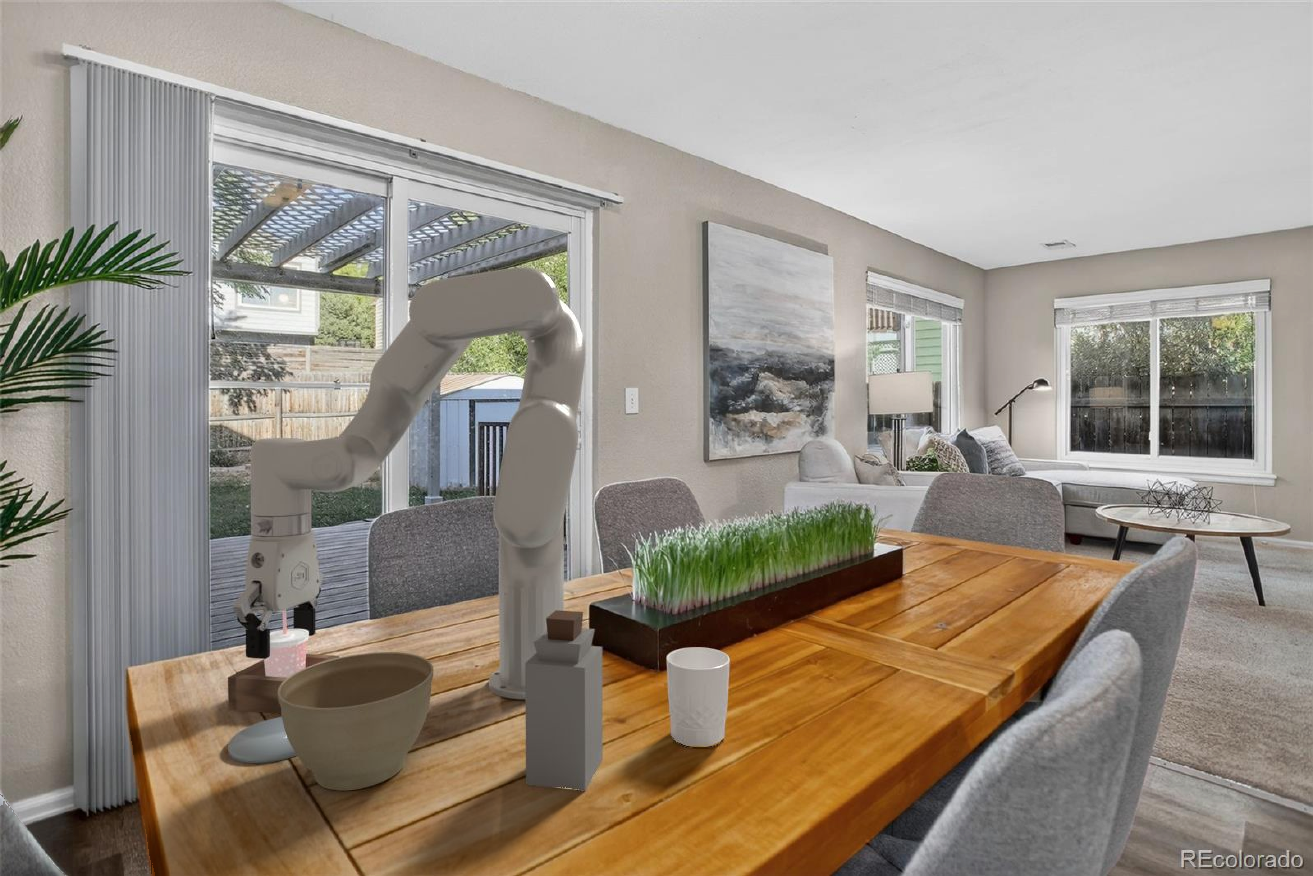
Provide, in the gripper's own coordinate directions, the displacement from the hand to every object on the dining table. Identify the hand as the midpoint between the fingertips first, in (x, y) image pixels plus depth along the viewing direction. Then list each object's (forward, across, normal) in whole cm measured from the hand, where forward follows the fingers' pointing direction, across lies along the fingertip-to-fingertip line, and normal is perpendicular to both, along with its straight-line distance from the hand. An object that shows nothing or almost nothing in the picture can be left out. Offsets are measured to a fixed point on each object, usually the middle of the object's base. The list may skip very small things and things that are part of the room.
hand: (282, 645), depth 100 cm
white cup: (+7, -3, -60) cm, 60 cm away
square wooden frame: (+7, 0, 0) cm, 8 cm away
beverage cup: (+8, 0, 0) cm, 8 cm away
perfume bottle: (+7, -14, -46) cm, 48 cm away
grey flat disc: (+7, -12, -8) cm, 16 cm away
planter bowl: (+7, -17, -22) cm, 29 cm away
